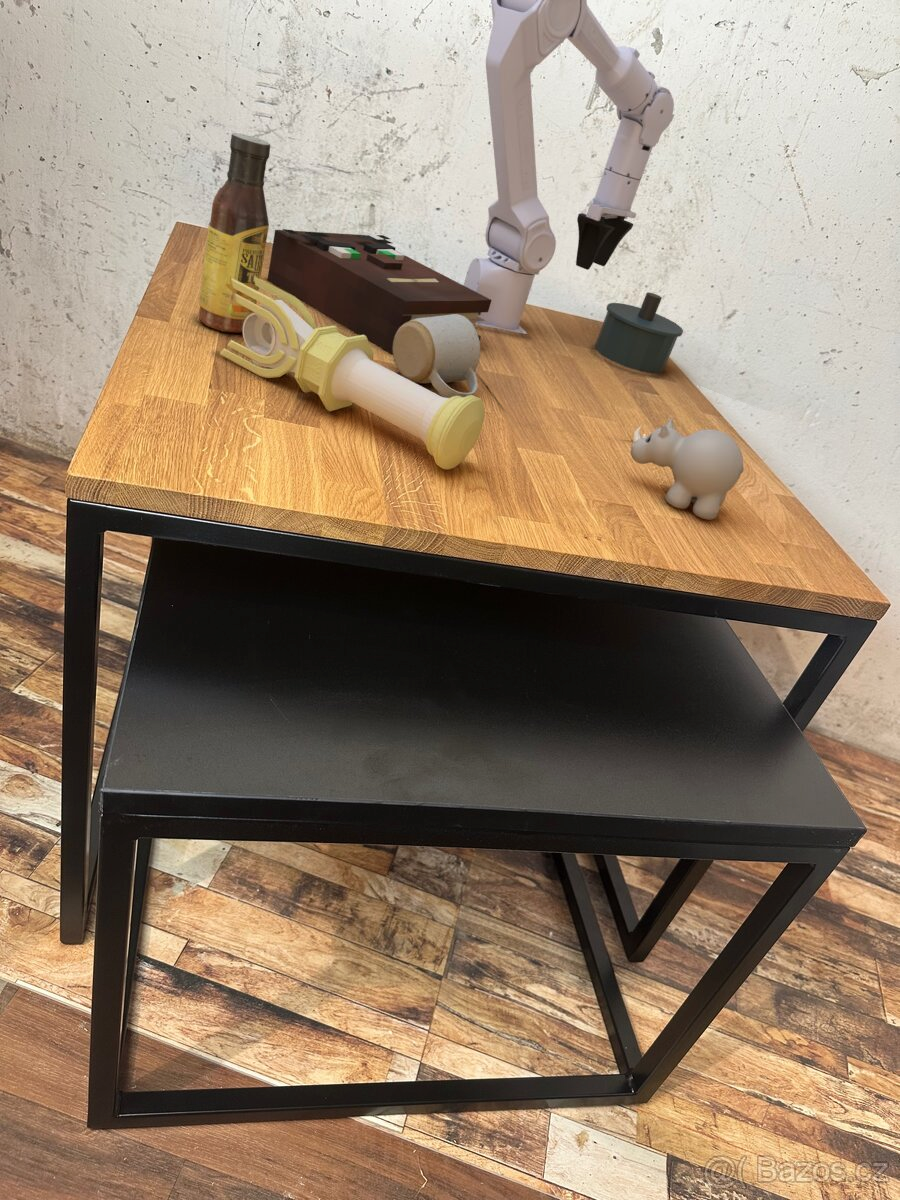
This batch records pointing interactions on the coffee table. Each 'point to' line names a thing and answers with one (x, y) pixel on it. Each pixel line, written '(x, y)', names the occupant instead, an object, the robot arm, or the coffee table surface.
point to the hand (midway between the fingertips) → (590, 265)
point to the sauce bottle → (235, 236)
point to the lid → (645, 316)
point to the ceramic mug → (438, 352)
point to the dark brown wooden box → (366, 283)
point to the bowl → (633, 346)
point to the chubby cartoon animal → (693, 465)
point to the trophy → (350, 374)
